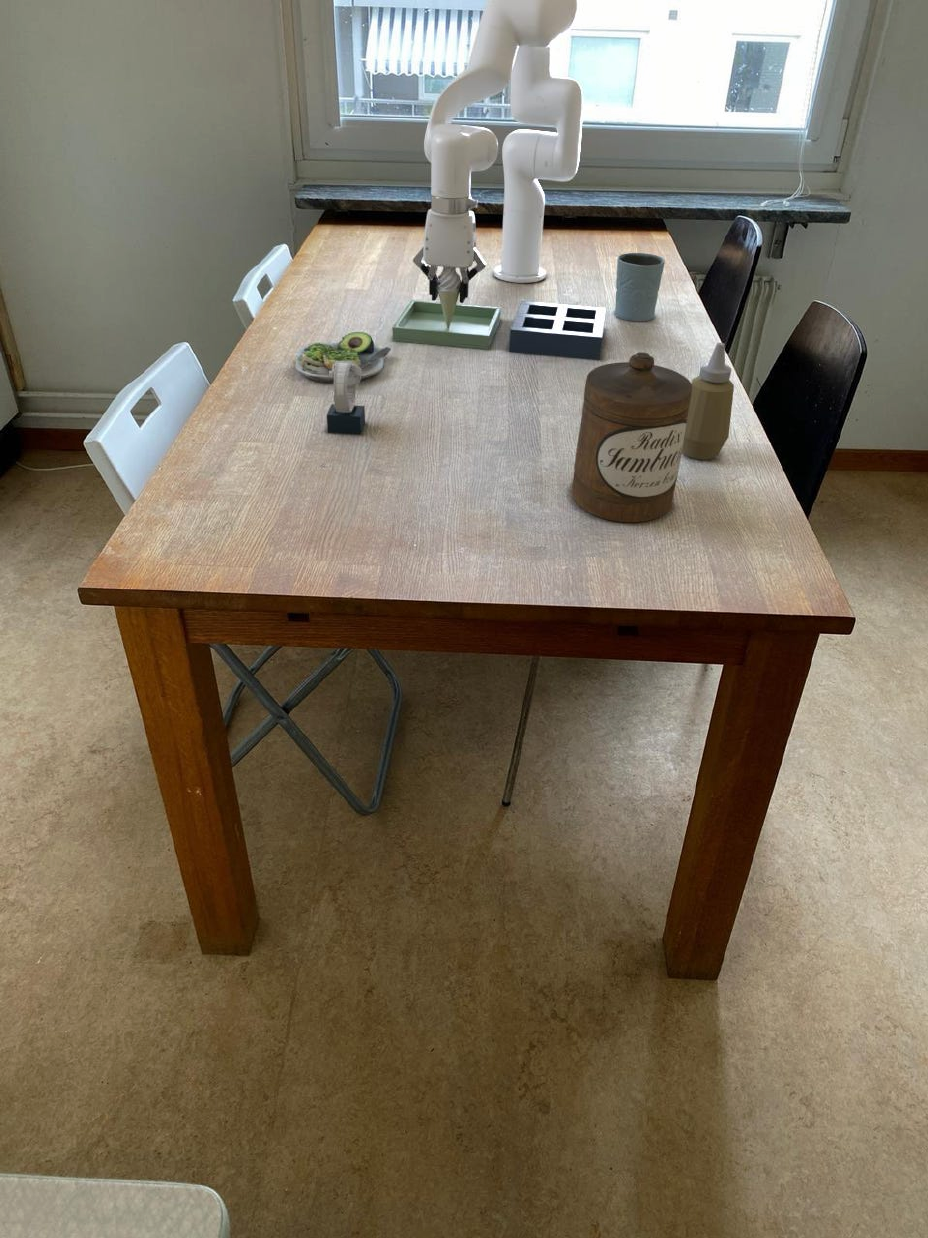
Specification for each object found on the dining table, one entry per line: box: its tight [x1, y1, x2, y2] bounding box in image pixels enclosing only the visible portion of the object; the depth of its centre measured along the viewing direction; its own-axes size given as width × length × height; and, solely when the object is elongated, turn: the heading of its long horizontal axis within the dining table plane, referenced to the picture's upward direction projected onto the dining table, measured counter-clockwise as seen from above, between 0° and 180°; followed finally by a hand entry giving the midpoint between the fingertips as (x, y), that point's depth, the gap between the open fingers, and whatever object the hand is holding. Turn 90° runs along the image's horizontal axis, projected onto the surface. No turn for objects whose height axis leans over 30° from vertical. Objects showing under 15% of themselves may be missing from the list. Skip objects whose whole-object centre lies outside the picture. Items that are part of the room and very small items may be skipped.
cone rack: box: [508, 300, 607, 361], centre depth 187 cm, size 18×18×4 cm
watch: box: [326, 361, 366, 435], centre depth 149 cm, size 6×8×11 cm
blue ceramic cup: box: [614, 252, 666, 323], centre depth 199 cm, size 10×10×12 cm
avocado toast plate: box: [294, 331, 392, 384], centre depth 171 cm, size 19×18×5 cm
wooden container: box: [571, 351, 692, 523], centre depth 130 cm, size 15×15×22 cm
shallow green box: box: [392, 299, 502, 350], centre depth 191 cm, size 18×20×3 cm
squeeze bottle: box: [682, 342, 735, 461], centre depth 144 cm, size 8×8×18 cm
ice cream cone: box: [436, 267, 462, 328], centre depth 187 cm, size 5×5×15 cm
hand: (448, 298), depth 187 cm, fingers closed on ice cream cone, 5 cm apart
